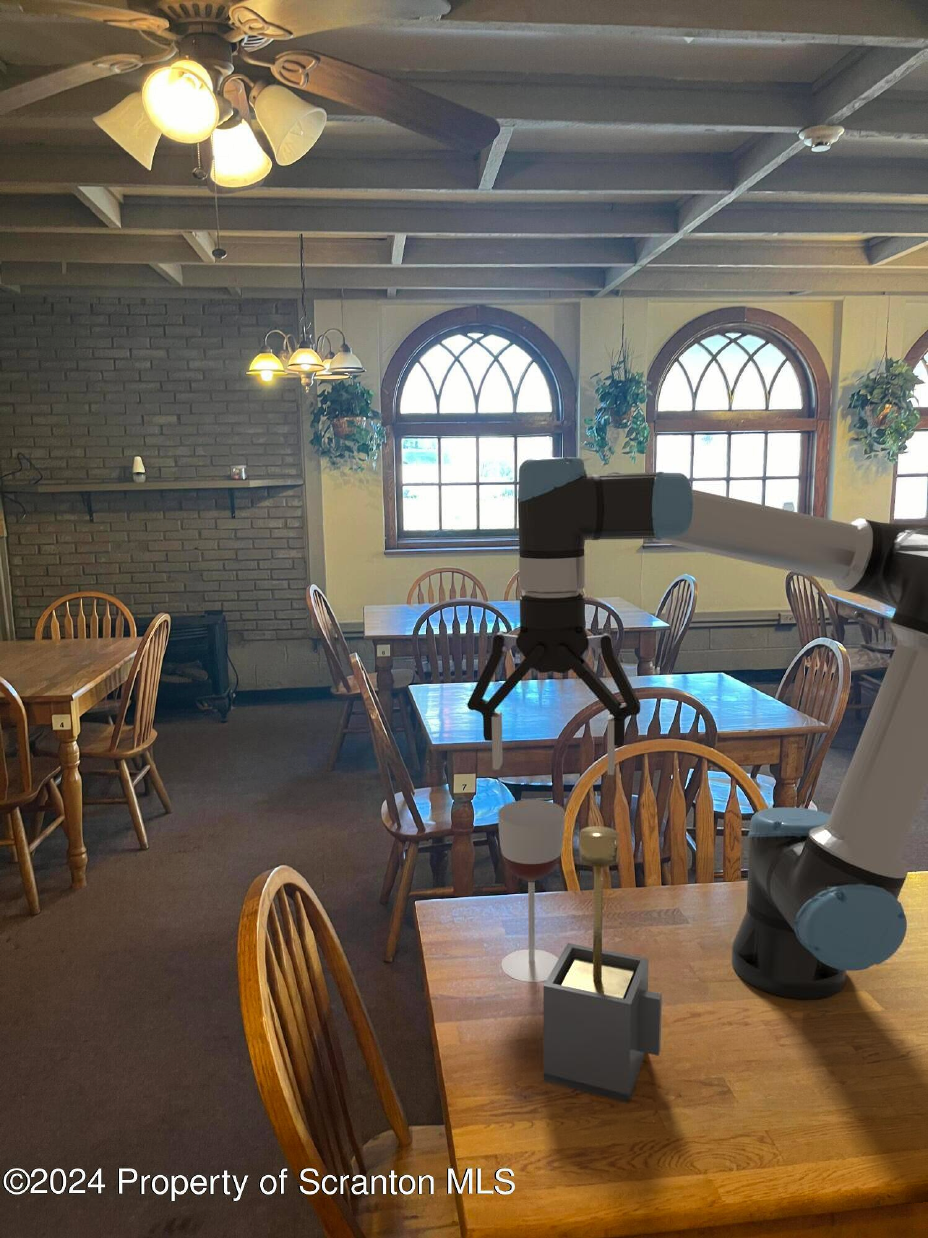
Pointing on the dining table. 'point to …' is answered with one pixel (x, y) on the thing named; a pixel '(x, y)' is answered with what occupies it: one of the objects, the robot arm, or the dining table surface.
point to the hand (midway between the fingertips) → (553, 769)
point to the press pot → (599, 1028)
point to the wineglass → (531, 871)
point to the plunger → (598, 919)
